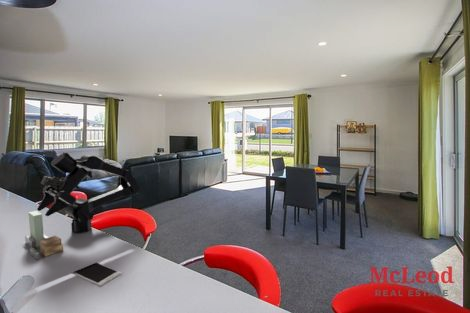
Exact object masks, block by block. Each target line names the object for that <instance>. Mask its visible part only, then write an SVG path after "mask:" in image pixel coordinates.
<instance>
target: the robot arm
mask: <svg viewBox="0 0 470 313" xmlns="http://www.w3.org/2000/svg"><path fill="white" fill-rule="evenodd" d="M50 165H51V166H52V167H54V168H55V169H56V170H58V171H59V172H61V173H62V174H67V175H65V177H64V176H63V177H58V176H56V175H55V176H52V177H49V176H46V175H44V176H43V177H42V180H41V182H40V184H41V185H43V188H42V193H43V197H42V199H41V202H40V203H39V205H38V207H37V208H36V211H38V212H40V211H42V210H44V209H46V208H47V207H49V208H48V209H47V211H46V212H45V213H44V216H46V217H50V216H51V215H53V214H55V213H57V212H59V211H61V210H63V209H65V210H64V211H65V214H66V215H67V216H69V217H70V219H72V220H71V221H72V222H71V224H70V225H71V232H72V233H75V234H84V233H89V231H91V230H92V220H93V218H94V213H93V212H92V211H93V210H94V209H96V208H99V207H101V206H103V205H106V204H108V203H110V202H113V201H115V200H118V199H120V198H122V197H131V196H134V195H137V194H138V193H139V190H140V186H139V184H138V183H137V180H136V179H135V178H134V176H133V175H132V172H131V170H128V169H125V168H121V167H118V166H116V165H113V164H110V163H107V162H105V161H104V160H103V159H101V158H99V157H98V156H96V155H89V154H84V155H82V156H81V157H80V158H74V157H72V156H71V155H70V153H68V152H65V151H64V152H63V153H61V154H59V155H57V156H56V157H54V158H53V159H52V161H51V162H50ZM79 166H80V167H79ZM91 170H94V171H95V170H96V171H102V172H105V173H108V174H112V175H115V176H118V177H119V183H120V184H119V186H118V187H117V188H115V189H113V190H110V191H107V192H106V193H103V194H100V195H97V196H95V197H91V198H90V199H87V198H83V197H79V198H76V197H75V196H74V195H72V193H73V192H74V190H75V189H76V190H77V189H79V188H80V186H79V185H80V184H81V183H82V182H83V180H84V179H86V177H87V178H90V179H91V178H92V179H93V174H92V171H91ZM50 205H51V206H50Z"/></svg>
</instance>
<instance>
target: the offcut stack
mask: <svg viewBox="0 0 470 313" xmlns="http://www.w3.org/2000/svg"><path fill="white" fill-rule="evenodd" d="M48 237H49V236H48ZM62 250H63V251H64V244H63V243H62V238H61V237H59V236H57V235H53V236H50V237H49V238H46V239H43V240H40V251H41V253H43V254H44V255H45V256H47V255H50V254H53V253H56V252H59V251H62Z"/></svg>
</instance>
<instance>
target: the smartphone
mask: <svg viewBox="0 0 470 313" xmlns="http://www.w3.org/2000/svg"><path fill="white" fill-rule="evenodd" d="M71 274H73V275H75V276H77V277H79V278H82V279H83V280H85V281H87V282H90V283H92V284H93V285H96V286H99V287H102V286H104V285H105V284H107V283H109V282H111V281H112V280H114V279H116V276H117V277H118V276H121V274H122V272H121V271H119V270H116V269H114V268H113V267H109V266H107V265H103V264H101V263H99V262H94V263H90V264H89V265H87V266H85V267H81V268H79V269H78V270H75V271H72V272H71ZM113 278H114V279H113Z"/></svg>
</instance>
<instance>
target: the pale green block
mask: <svg viewBox="0 0 470 313" xmlns="http://www.w3.org/2000/svg"><path fill="white" fill-rule="evenodd" d="M43 220H44V219H43V214H42V213H41V212H40V211H38V210H33V211H29V212H28V222H29V233H30V234H29V236H30V237H31V238H33V239H34V240H35V247H38V246H40V240H43V239H44V234H45V233H44V222H43ZM43 233H44V234H43Z"/></svg>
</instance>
